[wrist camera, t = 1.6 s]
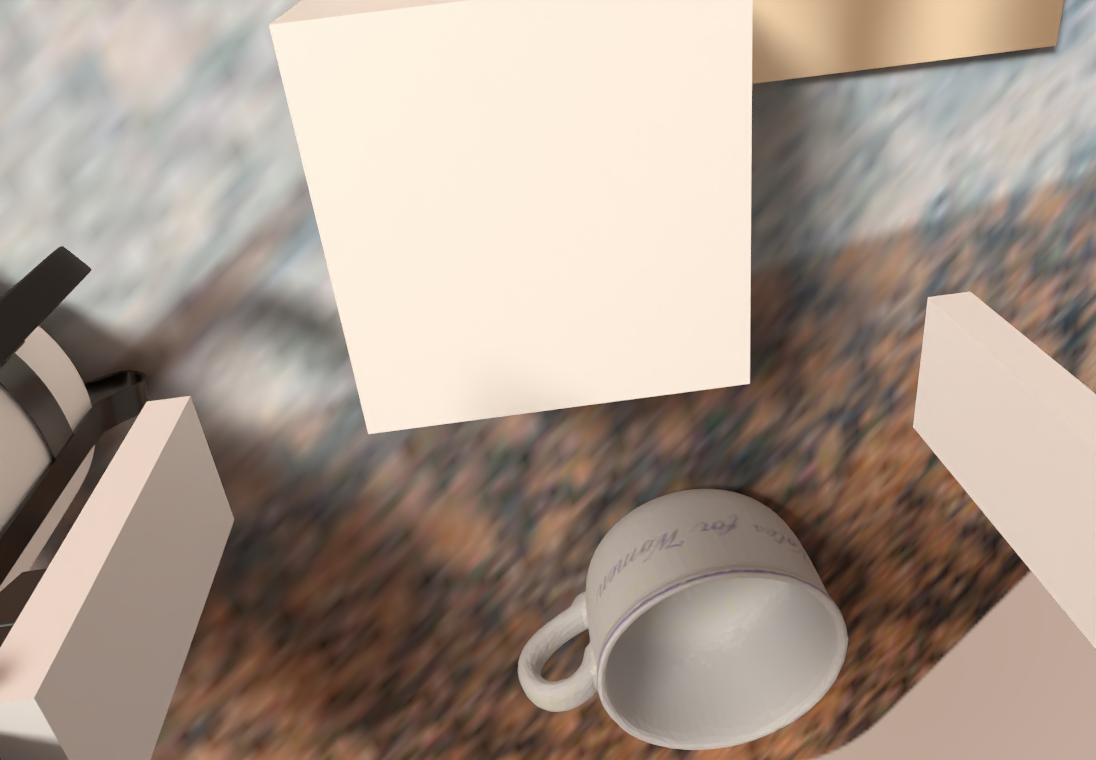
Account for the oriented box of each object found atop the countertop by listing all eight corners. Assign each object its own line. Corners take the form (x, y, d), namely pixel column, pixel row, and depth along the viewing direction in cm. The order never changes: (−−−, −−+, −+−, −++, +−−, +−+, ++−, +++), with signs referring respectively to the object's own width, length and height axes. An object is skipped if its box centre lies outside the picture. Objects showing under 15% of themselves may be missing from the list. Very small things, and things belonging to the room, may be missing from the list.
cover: (672, -60, 31) (752, -35, 22) (682, 264, 37) (750, 383, 28) (324, -17, 31) (268, 24, 22) (391, 301, 37) (368, 434, 28)
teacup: (801, 448, 42) (867, 562, 35) (782, 620, 47) (836, 749, 40) (502, 473, 41) (509, 593, 34) (517, 645, 47) (526, 779, 40)
